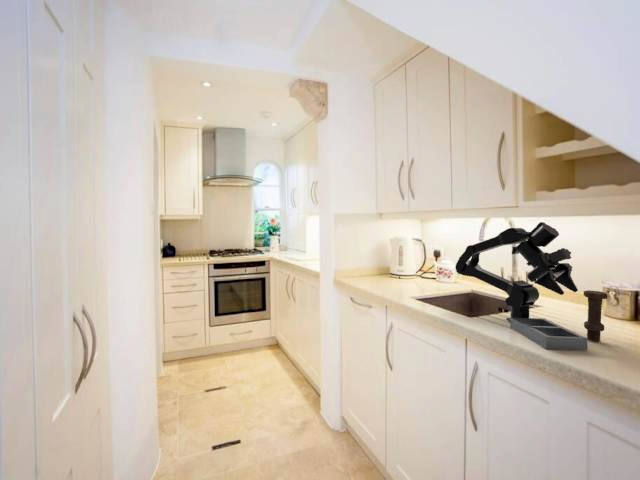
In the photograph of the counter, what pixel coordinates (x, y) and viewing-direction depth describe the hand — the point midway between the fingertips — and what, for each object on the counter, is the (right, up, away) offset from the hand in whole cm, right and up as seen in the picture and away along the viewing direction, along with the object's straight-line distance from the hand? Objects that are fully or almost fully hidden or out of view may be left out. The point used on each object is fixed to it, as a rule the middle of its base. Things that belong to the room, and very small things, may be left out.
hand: (569, 292), depth 104 cm
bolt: (+3, -14, -5) cm, 15 cm away
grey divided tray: (-10, -14, -3) cm, 17 cm away
